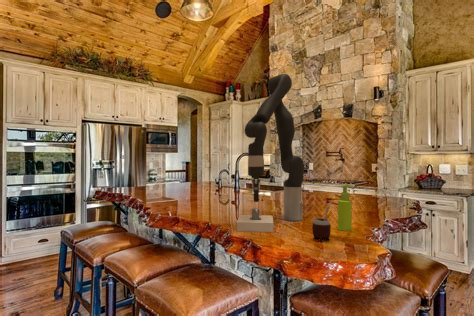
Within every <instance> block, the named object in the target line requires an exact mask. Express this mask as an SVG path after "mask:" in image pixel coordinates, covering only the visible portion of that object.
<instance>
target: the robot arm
mask: <svg viewBox="0 0 474 316" xmlns="http://www.w3.org/2000/svg"><path fill="white" fill-rule="evenodd" d="M292 84H293V82H292V78H291V76H290V75H289V74H288V73H281V74H278V75H275V76H273V77H270V78H269V79H268V82H267V88H268V93H269V96H268V97H267V98H266V99H265V100H264V101H263V102H262V103H261V105H260V106H259V107H258V110H257V111H256V113H255V114H254V116H252V118H251V119H250V120H248V122H247V123H246V125H245V126H244V134H245V136H246V137H247V138H250V139H254V141H253V142H251V143H249V144H248V147H247V148H248V149H247V150H248V151H247V153H248V156H247V157H248V158H247V176H249V177H253V179H251V185H252V187H251V188H252V193H253V202H254V203H256V202H257V203H258V202H259V200H260V189H261V179H260V177H264V176H265V158H264V145H265V141H266V138H267V133H268V129H267V125H266V124H268V123H269V122H270V120H271V118H272V116H273V115H274V119H275V120H274V121H275V126H276V128H275V129H276V132H277V137H278V145H279V153H280V155H279V156H280V166H281V169H282V171H283V172H284V173H286V174H288V177H287V179H285V180H284V182H283V220H285V221H290V222H298V221H299V222H300V221H303V201H302V196H303V194H302V193H303V192H302V190H303V189H302V187H303V182H304V176H305V175H304V174H305V173H304V172H305V163H304V160H303V158H302V157H300V156H298V155H294V154H293V146H292V145H293V141H294V137H295V132H296V130H295V129H296V127H295V121H294V117H293V115H292V114H291V112H290V111H289V110H288V109H287V107H286V105H285V104H284V102H283V99H284V98H285V97H286V95H287V94H288V93H289V91H290V90H291V88H292Z"/></svg>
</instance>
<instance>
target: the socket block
mask: <svg viewBox="0 0 474 316" xmlns="http://www.w3.org/2000/svg"><path fill="white" fill-rule="evenodd" d="M273 218H274V217H273V215H263V214H262V215H260V214H259V220H252V214H239V216H238V218H237V221H236V232H250V233H251V232H254V233H256V232H257V233H258V232H260V233H274V219H273Z"/></svg>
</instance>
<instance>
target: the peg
mask: <svg viewBox="0 0 474 316" xmlns="http://www.w3.org/2000/svg"><path fill="white" fill-rule="evenodd" d="M251 215H252V220H259V215H260V208H251Z"/></svg>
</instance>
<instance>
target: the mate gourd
mask: <svg viewBox="0 0 474 316" xmlns="http://www.w3.org/2000/svg"><path fill="white" fill-rule="evenodd" d="M332 203H333V201H330V202H329V203H328V204H327V206H326V210H325V215H324V218H315V219H314V220H313V221H312V225H311V228H312V231H311V232H312V235H313V240H319V242H320V243H321V242H323V241H327V242H329V241H330V236H331V229H332V228H331V227H332V225H331V223H330V221H329V219H327V216H328V212H329V209H330V206H331V205H332Z"/></svg>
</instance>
